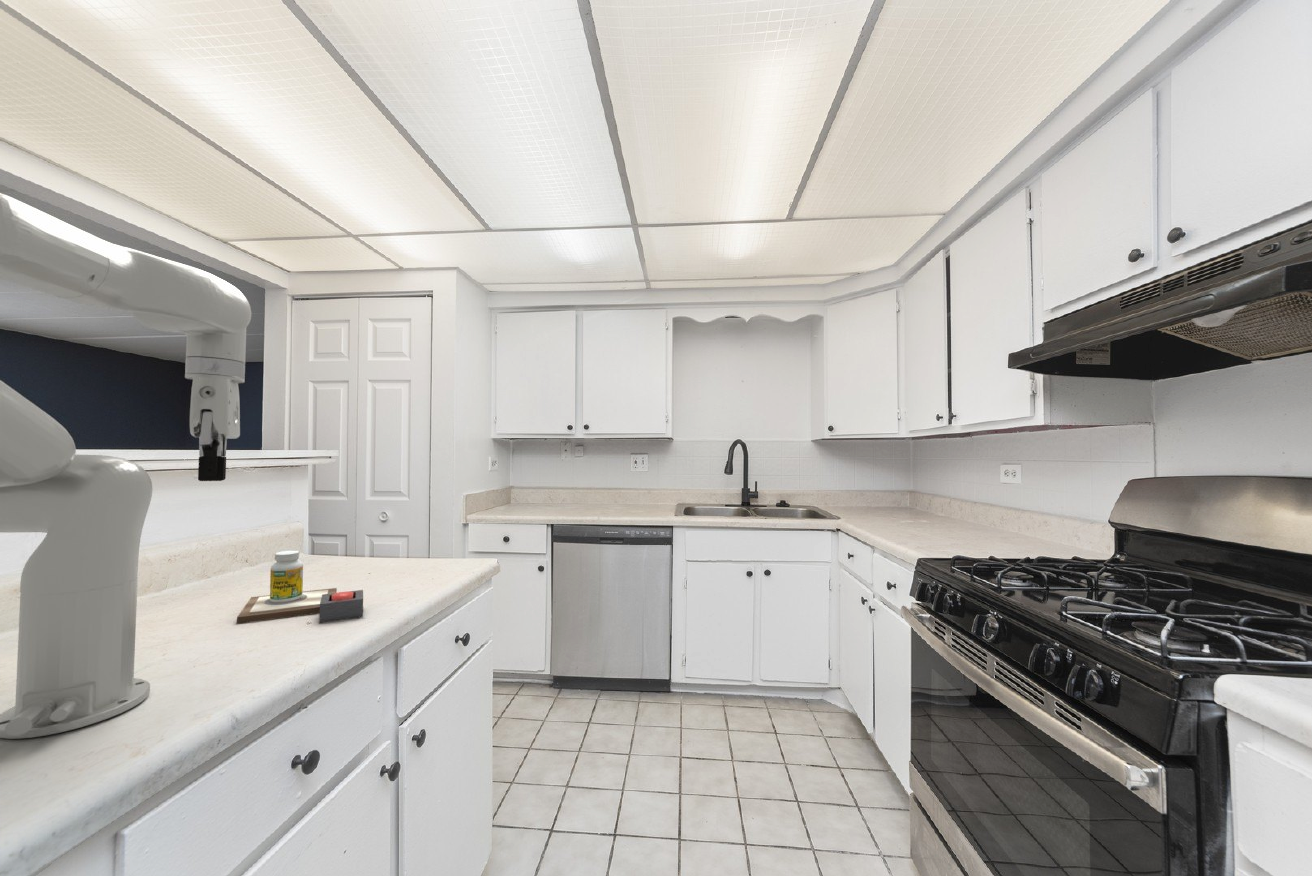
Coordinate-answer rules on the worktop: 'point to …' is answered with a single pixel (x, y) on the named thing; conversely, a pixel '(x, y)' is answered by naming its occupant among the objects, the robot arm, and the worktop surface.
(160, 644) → the worktop surface
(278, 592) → the supplement bottle
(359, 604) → the button housing
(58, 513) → the robot arm
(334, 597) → the button
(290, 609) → the brown bordered square board
